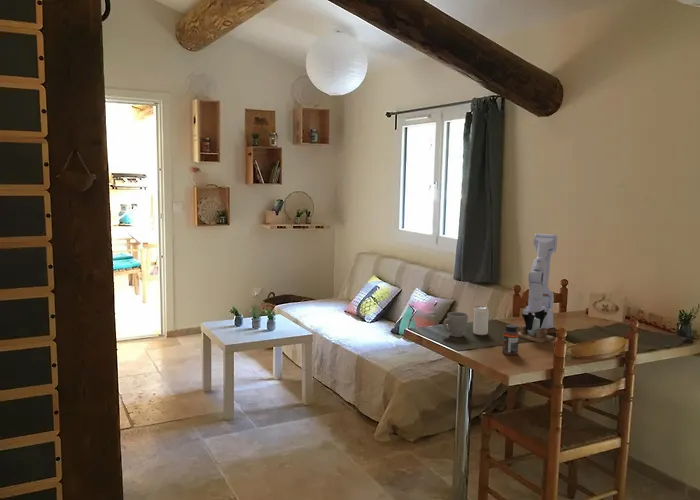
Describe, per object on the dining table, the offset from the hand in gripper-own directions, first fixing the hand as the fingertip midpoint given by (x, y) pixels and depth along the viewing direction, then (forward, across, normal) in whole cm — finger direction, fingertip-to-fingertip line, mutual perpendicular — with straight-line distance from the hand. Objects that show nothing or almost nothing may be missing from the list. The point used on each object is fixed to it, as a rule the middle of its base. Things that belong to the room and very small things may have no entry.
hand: (533, 328), depth 264 cm
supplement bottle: (+4, +29, +9) cm, 31 cm away
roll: (+3, 0, 0) cm, 3 cm away
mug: (+4, +27, -22) cm, 35 cm away
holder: (+4, 0, 0) cm, 4 cm away
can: (+4, +14, -18) cm, 23 cm away
